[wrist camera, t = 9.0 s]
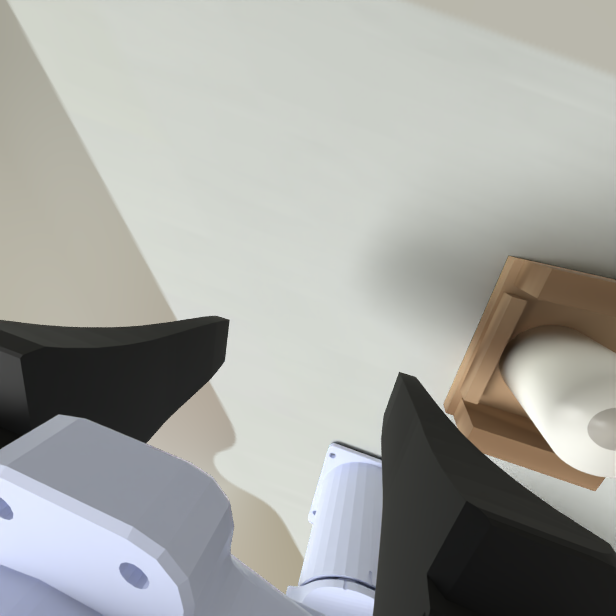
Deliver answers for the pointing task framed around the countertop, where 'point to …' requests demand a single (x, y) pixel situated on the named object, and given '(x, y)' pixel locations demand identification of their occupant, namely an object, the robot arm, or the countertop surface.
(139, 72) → the countertop surface
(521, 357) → the paper roll
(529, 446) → the holder
